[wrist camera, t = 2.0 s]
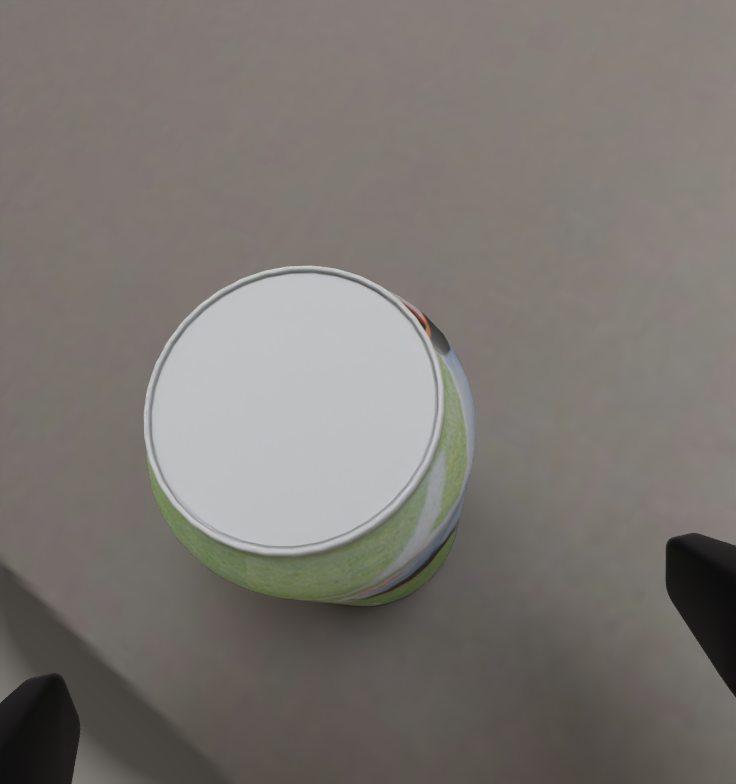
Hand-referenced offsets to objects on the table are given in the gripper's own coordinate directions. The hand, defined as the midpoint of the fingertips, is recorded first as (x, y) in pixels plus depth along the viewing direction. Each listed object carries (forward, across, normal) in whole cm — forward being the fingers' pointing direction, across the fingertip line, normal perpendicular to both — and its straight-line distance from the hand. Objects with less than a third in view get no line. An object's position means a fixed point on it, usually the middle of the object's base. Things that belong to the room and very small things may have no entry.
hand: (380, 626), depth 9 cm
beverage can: (+11, 0, +5) cm, 12 cm away
